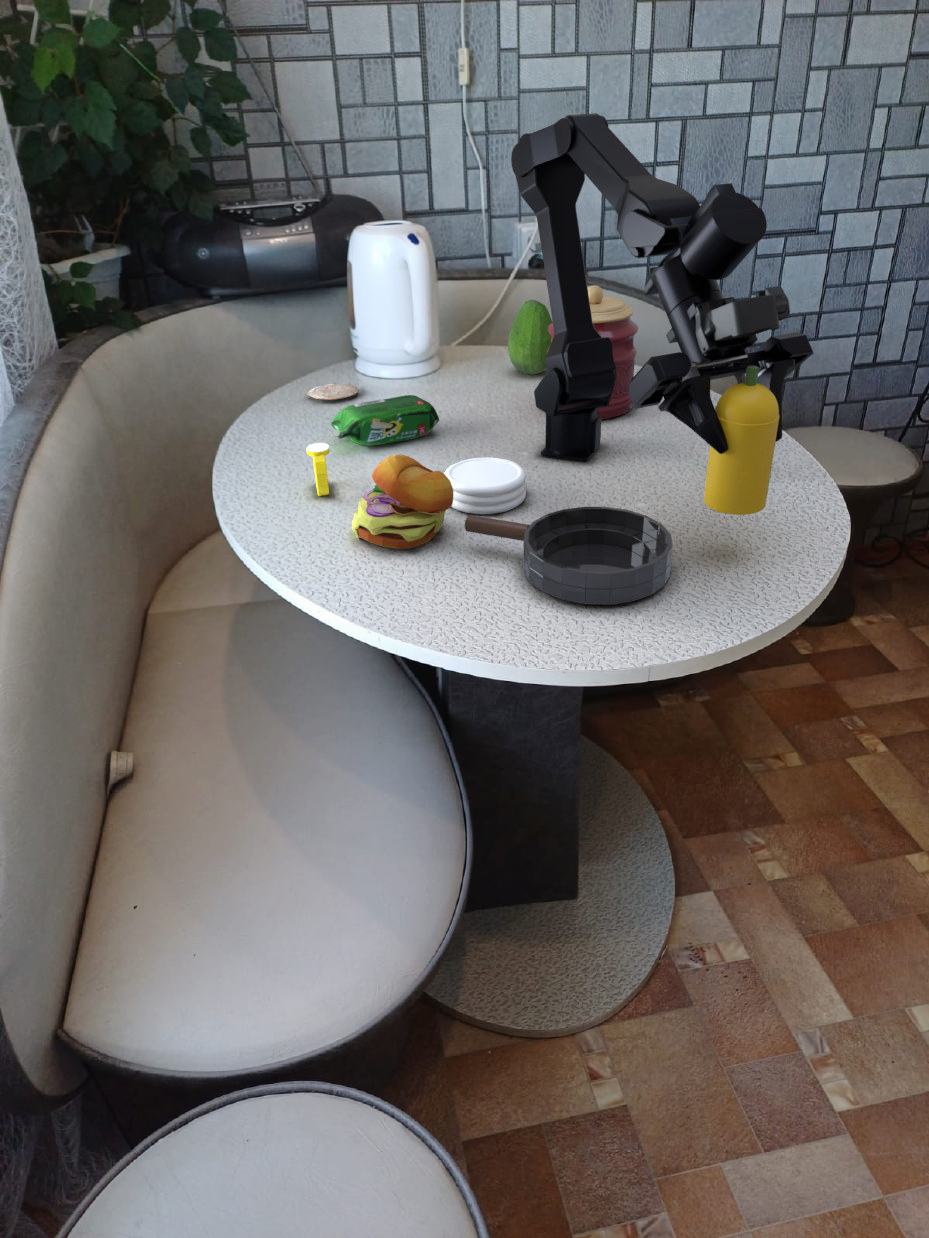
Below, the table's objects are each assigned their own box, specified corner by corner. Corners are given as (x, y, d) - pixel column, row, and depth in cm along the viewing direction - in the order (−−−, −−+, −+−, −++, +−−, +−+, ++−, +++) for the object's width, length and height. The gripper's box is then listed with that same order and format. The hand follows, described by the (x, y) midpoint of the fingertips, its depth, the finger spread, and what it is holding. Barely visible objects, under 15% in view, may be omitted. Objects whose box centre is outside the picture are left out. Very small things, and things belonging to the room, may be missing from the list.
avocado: (542, 383, 151) (543, 307, 145) (500, 377, 155) (499, 302, 149) (563, 369, 157) (565, 296, 151) (522, 364, 161) (522, 292, 154)
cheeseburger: (350, 516, 110) (364, 437, 106) (438, 530, 112) (456, 453, 107) (348, 555, 102) (363, 470, 97) (444, 569, 104) (463, 487, 99)
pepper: (698, 509, 95) (713, 373, 88) (710, 486, 100) (726, 355, 93) (760, 519, 93) (781, 380, 86) (769, 494, 98) (790, 361, 90)
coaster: (514, 520, 109) (514, 492, 107) (433, 511, 111) (431, 484, 109) (534, 486, 117) (534, 459, 115) (458, 478, 119) (457, 452, 118)
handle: (464, 534, 101) (464, 519, 100) (471, 527, 102) (470, 512, 101) (525, 544, 98) (525, 529, 97) (531, 537, 100) (531, 521, 99)
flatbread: (350, 384, 153) (349, 378, 153) (365, 397, 148) (364, 391, 147) (302, 392, 151) (301, 386, 150) (315, 405, 145) (314, 399, 144)
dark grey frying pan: (502, 592, 94) (501, 557, 92) (551, 530, 106) (552, 498, 104) (648, 620, 89) (651, 584, 87) (683, 552, 101) (686, 518, 99)
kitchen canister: (531, 413, 139) (531, 291, 130) (569, 388, 149) (573, 272, 139) (611, 427, 133) (618, 300, 124) (646, 400, 143) (655, 280, 133)
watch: (310, 483, 120) (304, 439, 116) (332, 481, 120) (327, 436, 117) (313, 502, 115) (307, 456, 111) (335, 499, 115) (330, 454, 112)
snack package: (325, 440, 132) (321, 405, 130) (427, 421, 138) (425, 386, 135) (342, 457, 127) (338, 421, 124) (447, 436, 132) (445, 401, 130)
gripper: (654, 269, 84) (715, 425, 81) (817, 247, 90) (879, 391, 88) (603, 336, 95) (657, 476, 92) (753, 313, 101) (807, 443, 98)
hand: (751, 446), depth 92 cm, fingers closed on pepper, 6 cm apart
